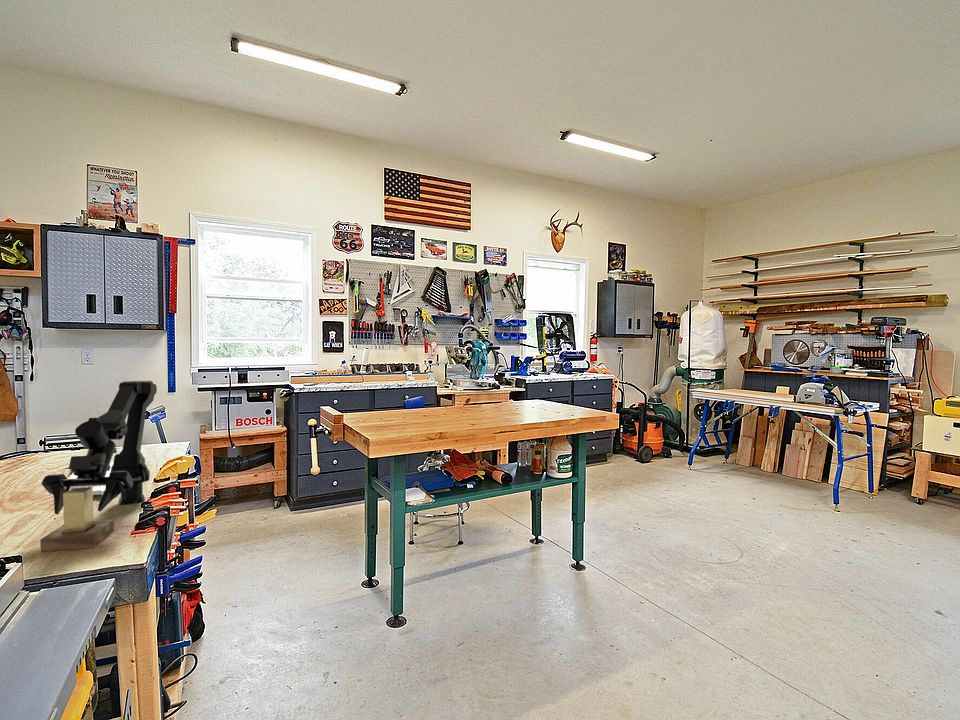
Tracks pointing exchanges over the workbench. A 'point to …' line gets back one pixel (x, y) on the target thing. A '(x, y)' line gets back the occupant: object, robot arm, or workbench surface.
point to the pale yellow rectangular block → (78, 510)
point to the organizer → (96, 488)
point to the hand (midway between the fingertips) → (77, 512)
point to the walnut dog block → (77, 537)
